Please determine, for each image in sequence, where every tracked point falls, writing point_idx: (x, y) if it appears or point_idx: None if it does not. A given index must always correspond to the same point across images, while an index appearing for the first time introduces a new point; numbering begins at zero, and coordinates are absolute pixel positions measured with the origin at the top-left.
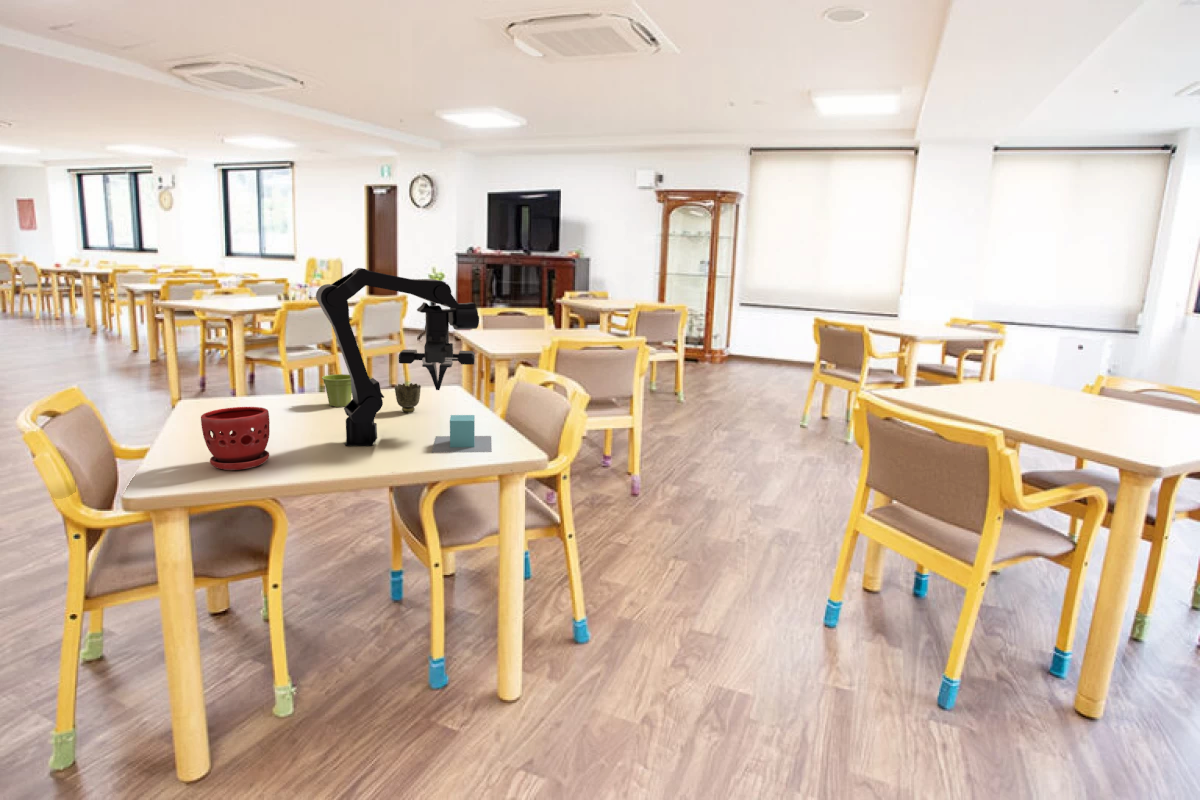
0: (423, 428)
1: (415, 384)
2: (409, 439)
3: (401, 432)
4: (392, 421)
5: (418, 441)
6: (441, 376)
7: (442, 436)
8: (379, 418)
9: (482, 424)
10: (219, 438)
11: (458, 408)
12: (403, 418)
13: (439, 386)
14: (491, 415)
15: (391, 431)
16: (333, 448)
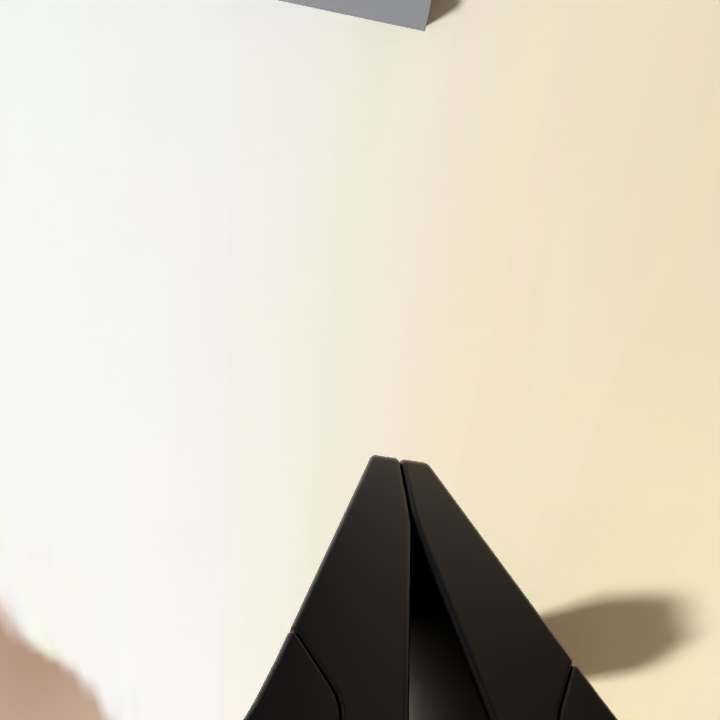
0: (453, 387)
1: None
2: (634, 106)
3: (625, 320)
4: (597, 546)
5: (580, 15)
6: (323, 687)
7: (362, 3)
8: (645, 599)
9: (40, 412)
10: None
11: (208, 688)
12: (521, 584)
13: (372, 491)
14: (9, 572)
15: (681, 355)
16: None
